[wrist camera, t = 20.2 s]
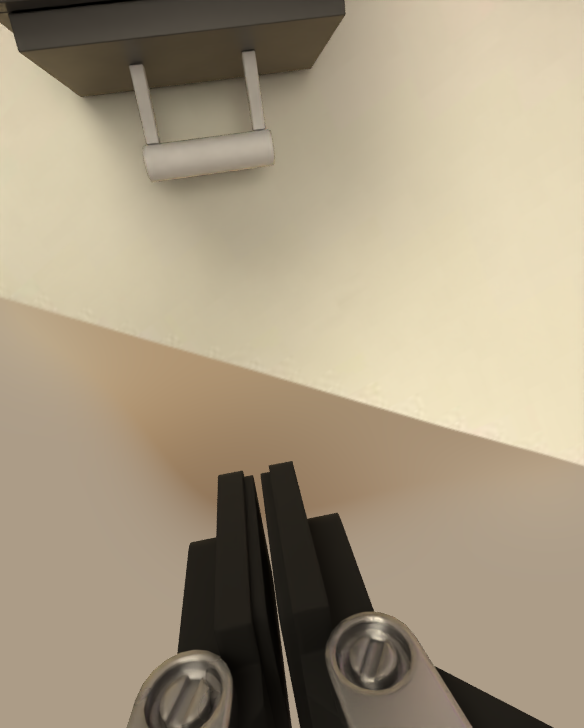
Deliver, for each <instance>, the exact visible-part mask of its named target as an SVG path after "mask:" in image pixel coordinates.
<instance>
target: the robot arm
mask: <svg viewBox="0 0 584 728" xmlns="http://www.w3.org/2000/svg"><path fill="white" fill-rule="evenodd" d="M269 469H270V472H267V473H262V474H261V482H262V490H263V498H264V506H265V514H266V521H267V529H268V537H269V544H270V552H271V561H272V569H273V576H274V583H273V576H272V570H271V565H270V560H269V554H268V549H267V544H266V539H265V534H264V529H263V524H262V518H261V513H260V508H259V503H258V498H257V492H256V487H255V482H254V478H253V475H251V476H246V477H244V474H243V471H238V472H233V473H227V474H223V475H219V476H218V499H217V536H216V538H211V539H206V540H201V541H196V542H192V543H190V545H189V551H188V561H187V570H186V579H185V589H184V597H183V607H182V616H181V626H180V635H179V644H178V654H177V655H175V656H173V657H171V658H169V659H167V660H166V661H164V662H163V663H162V664H161V665H160V666H158V668H156V669H155V670H154V671H153V672H152V673H151V674H150V676H149V677H148V678H147V679H146V681H145V682H144V683H143V685H142V687H141V689H140V692H139V693H138V696H137V698H136V700H135V703H134V706H133V710H132V712H131V716H130V719H129V722H128V725H127V728H292V726H291V718H290V711H289V702H288V694H287V687H286V679H285V671H284V662H283V655H282V646H281V639H280V630H279V623H278V614H279V620H280V625H281V631H282V636H283V641H284V646H285V652H286V656H287V662H288V666H289V671H290V677H291V682H292V687H293V692H294V697H295V703H296V708H297V713H298V718H299V723H300V728H553V727H551V726H549V725H547V724H545V723H544V722H542V721H539V720H538V719H536V718H534V717H532V716H530V715H528V714H526V713H524V712H522V711H520V710H518V709H517V708H515V707H513V706H511V705H509V704H507V703H505V702H503V701H501V700H499V699H497V698H495V697H493V696H491V695H489V694H488V693H486V692H483V691H482V690H480V689H478V688H476V687H474V686H472V685H470V684H468V683H466V682H464V681H462V680H460V679H458V678H457V677H454V676H453V675H451V674H449V673H447V672H445V671H443V670H441V669H439V668H437V667H435V666H434V665H433V663H432V662H431V660H430V659H429V657H428V655H427V654H426V652H425V651H424V649H423V647H422V646H421V644H420V643H419V641H418V640H417V638H416V636H415V635H414V634H413V633H412V631H411V630H410V629H409V628H408V627H407V626H406V625H405V624H404V623H402V622H401V621H399V620H398V619H396V618H395V617H393V616H390V615H387V614H384V613H380V612H374V610H373V607H372V604H371V602H370V599H369V596H368V593H367V591H366V588H365V585H364V582H363V580H362V577H361V574H360V571H359V568H358V566H357V563H356V560H355V557H354V555H353V552H352V549H351V546H350V544H349V541H348V538H347V536H346V533H345V530H344V527H343V524H342V522H341V519H340V517H339V514H338V513H334V514H329V515H324V516H319V517H314V518H309V519H307V517H306V513H305V509H304V505H303V501H302V497H301V493H300V489H299V486H298V482H297V478H296V474H295V470H294V466H293V462H292V461H290V462H285V463H279V464H275V465H270V466H269ZM274 584H275V591H274ZM275 592H276V598H275ZM276 600H277V606H276ZM277 607H278V614H277Z"/></svg>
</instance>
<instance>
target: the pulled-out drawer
mask: <svg viewBox="0 0 584 728" xmlns="http://www.w3.org/2000/svg"><path fill="white" fill-rule="evenodd" d="M52 8H53V9H50V10H40V11H31V12H22V13H13V14H8V16H9V20H10V23H11V26H12V30H13V33H14V37H15V40H16V44H17V47H18V50H19V52H20V53H21V54H23V55H24V56H25V57H27V58H28V59H30V60H31V61H32V62H34V63H35V64H36V65H38V66H39V67H41V68H42V69H43V70H45V71H46V72H47V73H49V74H50V75H52V76H53V77H54V78H56V79H57V80H58V81H60V82H61V83H63V84H64V85H65V86H67V87H68V88H69V89H71V90H72V91H74V92H75V93H76V94H78V95H79V96H81V97H84V96H92V95H100V94H108V93H117V92H125V91H133V90H134V91H135V95H136V100H137V104H138V109H139V113H140V118H141V122H142V127H143V131H144V136H145V140H146V144H147V145H145V146H143V157H144V162H145V167H146V170H147V174H148V176H149V179H150V180H151V182H157V181H165V180H172V179H179V178H186V177H193V176H200V175H208V174H215V173H222V172H229V171H236V170H243V169H251V168H258V167H265V166H272V165H274V163H275V155H274V145H273V139H272V134H271V131H270V130H269V129H265V128H266V126H265V119H264V112H263V105H262V98H261V91H260V83H259V76H258V75H262V74H270V73H278V72H287V71H295V70H303V69H311V68H312V66H313V64H314V63H315V61H316V60H317V58H318V57H319V55H320V53H321V52H322V50H323V49H324V47H325V46H326V44H327V42H328V41H329V39H330V38H331V36H332V35H333V33H334V31H335V30H336V28H337V27H338V25H339V24H340V22H341V20H342V19H343V17H344V16H345V3H344V0H108V1H99V2H89V3H80V4H71V5H61V6H52ZM238 77H245V83H246V90H247V96H248V103H249V110H250V117H251V123H252V130H253V131H250V132H243V133H235V134H228V135H220V136H213V137H205V138H198V139H190V140H183V141H175V142H168V143H160V138H159V133H158V129H157V124H156V119H155V114H154V110H153V105H152V100H151V96H150V91H149V88H157V87H165V86H173V85H181V84H189V83H198V82H206V81H214V80H222V79H230V78H238Z"/></svg>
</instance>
